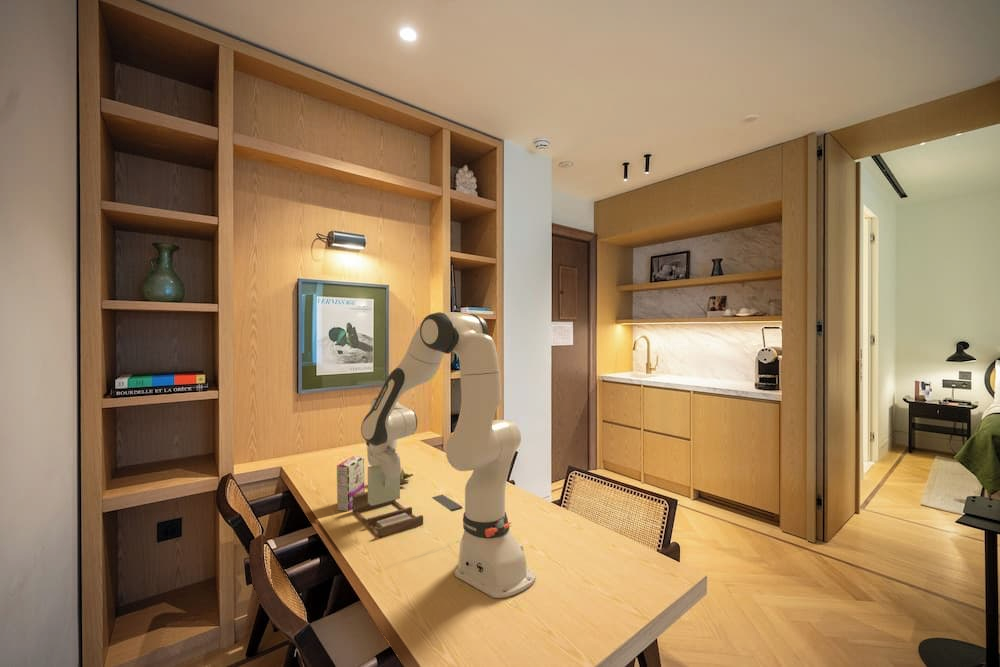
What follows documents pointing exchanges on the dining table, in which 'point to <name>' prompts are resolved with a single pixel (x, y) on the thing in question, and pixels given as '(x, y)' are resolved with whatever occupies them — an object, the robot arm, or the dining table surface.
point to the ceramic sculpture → (404, 477)
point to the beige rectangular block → (381, 487)
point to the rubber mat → (447, 502)
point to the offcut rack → (384, 516)
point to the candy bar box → (349, 482)
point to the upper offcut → (393, 520)
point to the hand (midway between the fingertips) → (383, 484)
